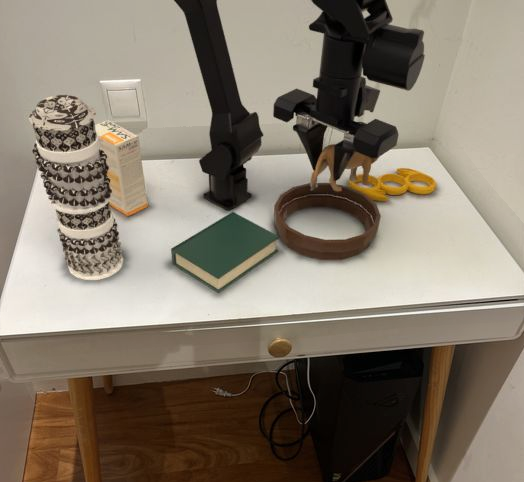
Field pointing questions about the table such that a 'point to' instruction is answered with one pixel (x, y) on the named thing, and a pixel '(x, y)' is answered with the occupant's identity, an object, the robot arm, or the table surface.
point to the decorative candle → (77, 185)
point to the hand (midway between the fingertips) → (326, 175)
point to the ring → (324, 199)
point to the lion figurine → (356, 161)
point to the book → (224, 251)
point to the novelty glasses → (403, 179)
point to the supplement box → (123, 167)
